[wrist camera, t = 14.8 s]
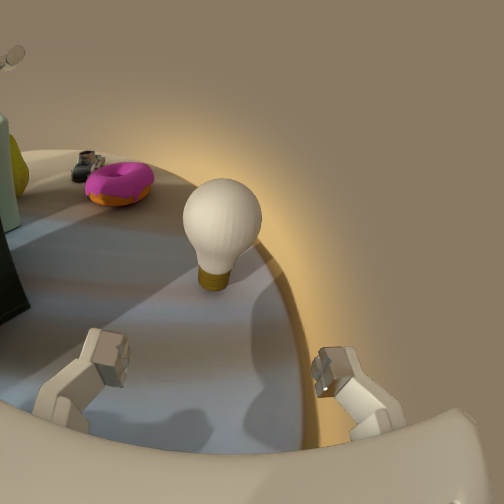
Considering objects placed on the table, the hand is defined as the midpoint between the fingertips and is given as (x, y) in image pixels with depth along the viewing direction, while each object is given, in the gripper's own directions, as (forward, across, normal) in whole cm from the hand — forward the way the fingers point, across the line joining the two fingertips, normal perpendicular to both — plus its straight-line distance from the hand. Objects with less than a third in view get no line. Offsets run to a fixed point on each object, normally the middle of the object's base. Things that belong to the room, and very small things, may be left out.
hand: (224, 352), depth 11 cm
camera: (+38, +24, +7) cm, 45 cm away
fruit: (+26, +33, +7) cm, 43 cm away
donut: (+29, +14, +7) cm, 33 cm away
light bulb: (+12, 0, +8) cm, 14 cm away
